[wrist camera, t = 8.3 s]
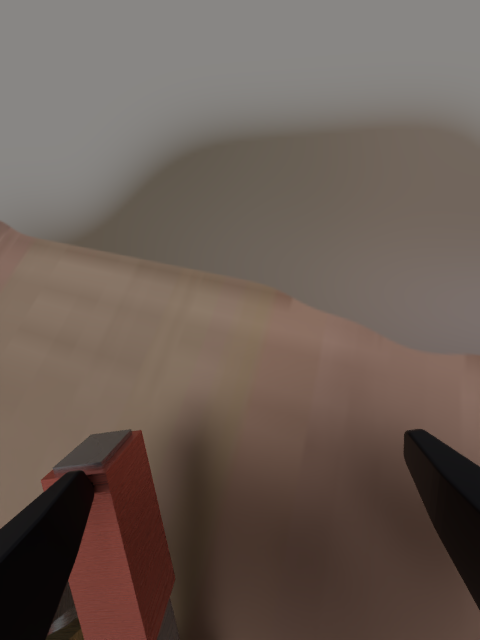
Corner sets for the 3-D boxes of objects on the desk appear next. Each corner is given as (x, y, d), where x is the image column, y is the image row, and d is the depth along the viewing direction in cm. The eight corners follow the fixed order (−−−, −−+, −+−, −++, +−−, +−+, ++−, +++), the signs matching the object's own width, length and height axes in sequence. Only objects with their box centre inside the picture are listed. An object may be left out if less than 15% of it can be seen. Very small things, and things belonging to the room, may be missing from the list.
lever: (191, 843, 10) (99, 471, 8) (132, 841, 10) (32, 479, 8) (208, 712, 13) (143, 422, 11) (163, 713, 13) (92, 428, 11)
